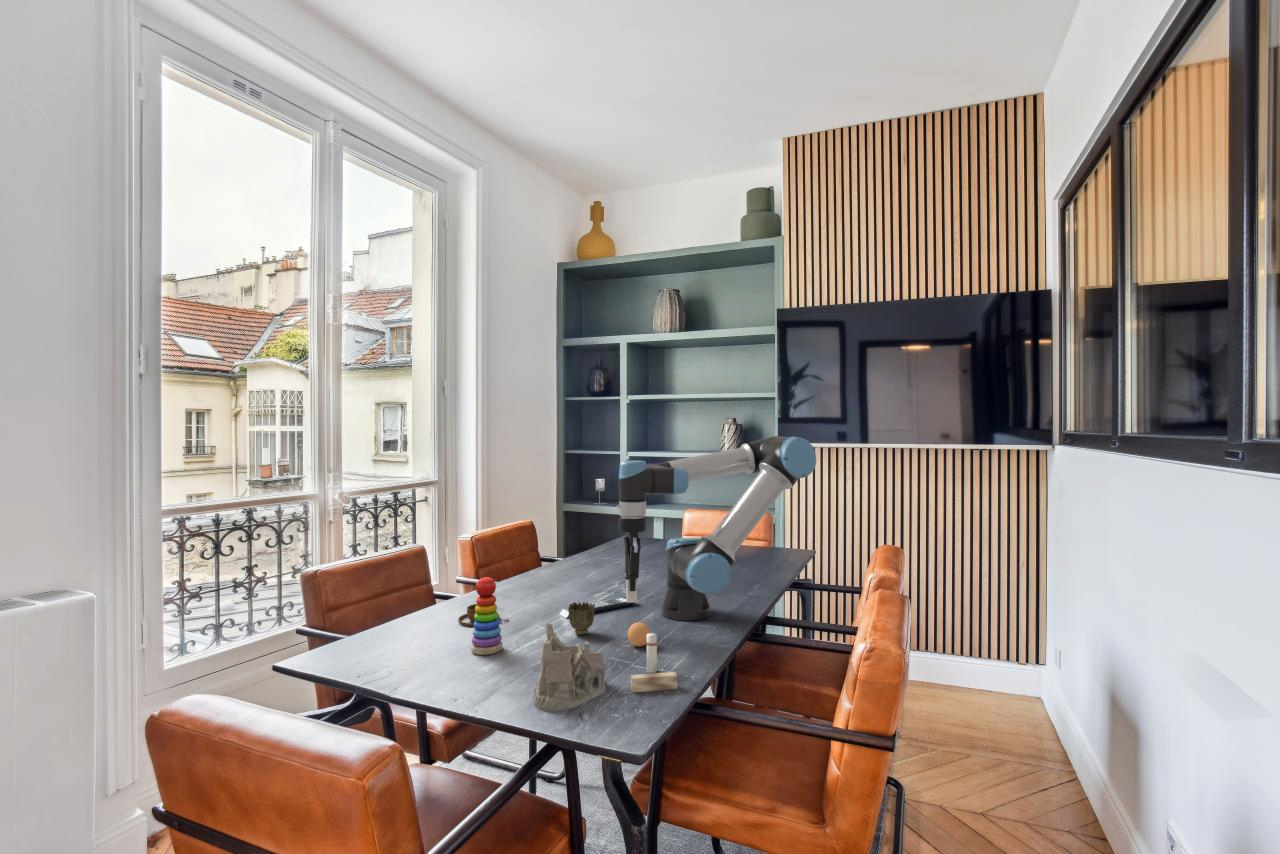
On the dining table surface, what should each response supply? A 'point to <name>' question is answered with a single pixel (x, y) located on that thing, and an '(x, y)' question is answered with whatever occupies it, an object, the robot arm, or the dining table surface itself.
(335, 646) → the dining table surface
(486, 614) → the stacking toy
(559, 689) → the ceramic cottage
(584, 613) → the cup
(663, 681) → the stopper rail
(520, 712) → the dining table surface
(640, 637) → the ball
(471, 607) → the place setting
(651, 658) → the pin
